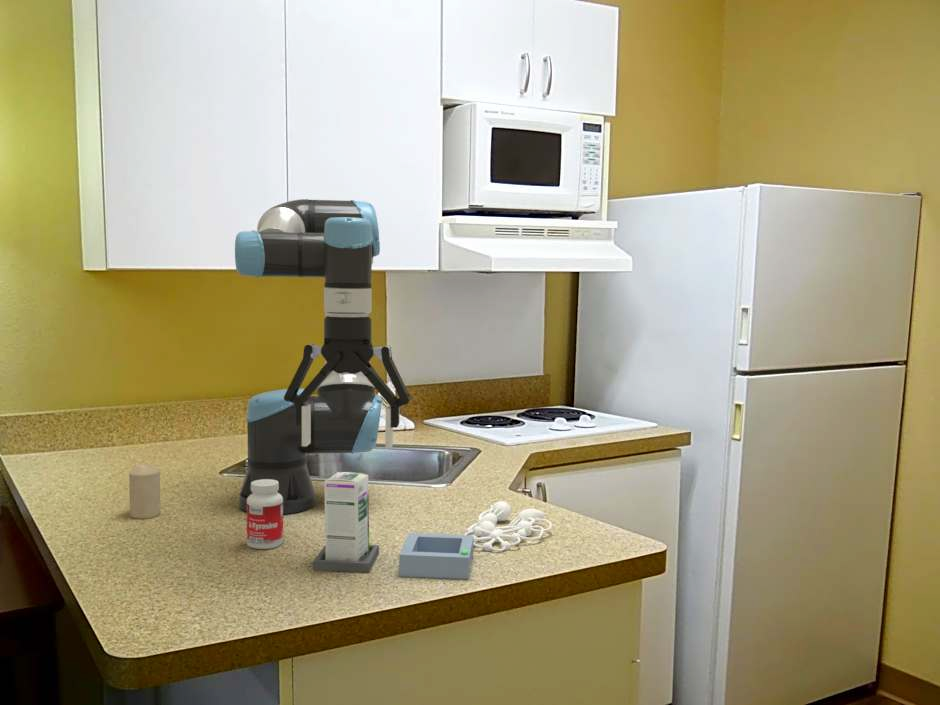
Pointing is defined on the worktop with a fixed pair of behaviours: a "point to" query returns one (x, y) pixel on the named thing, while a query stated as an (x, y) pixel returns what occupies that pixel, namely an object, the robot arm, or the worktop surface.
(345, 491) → the syrup box
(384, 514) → the worktop surface
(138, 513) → the candle
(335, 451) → the robot arm
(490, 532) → the tangled rod sculpture
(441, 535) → the frame
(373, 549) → the grey picture frame
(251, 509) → the pill bottle
